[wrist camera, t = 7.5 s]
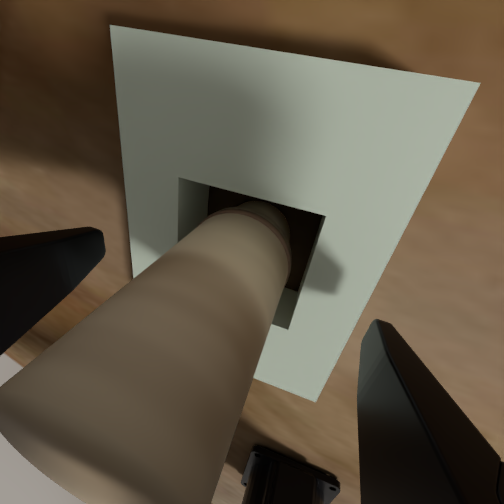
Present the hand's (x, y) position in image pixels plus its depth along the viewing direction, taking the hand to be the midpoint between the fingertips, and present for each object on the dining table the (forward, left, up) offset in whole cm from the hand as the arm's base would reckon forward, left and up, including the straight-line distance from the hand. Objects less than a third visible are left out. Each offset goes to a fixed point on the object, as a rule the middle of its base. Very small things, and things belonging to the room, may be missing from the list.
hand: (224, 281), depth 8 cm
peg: (0, 0, -4) cm, 4 cm away
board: (0, 0, -4) cm, 4 cm away
